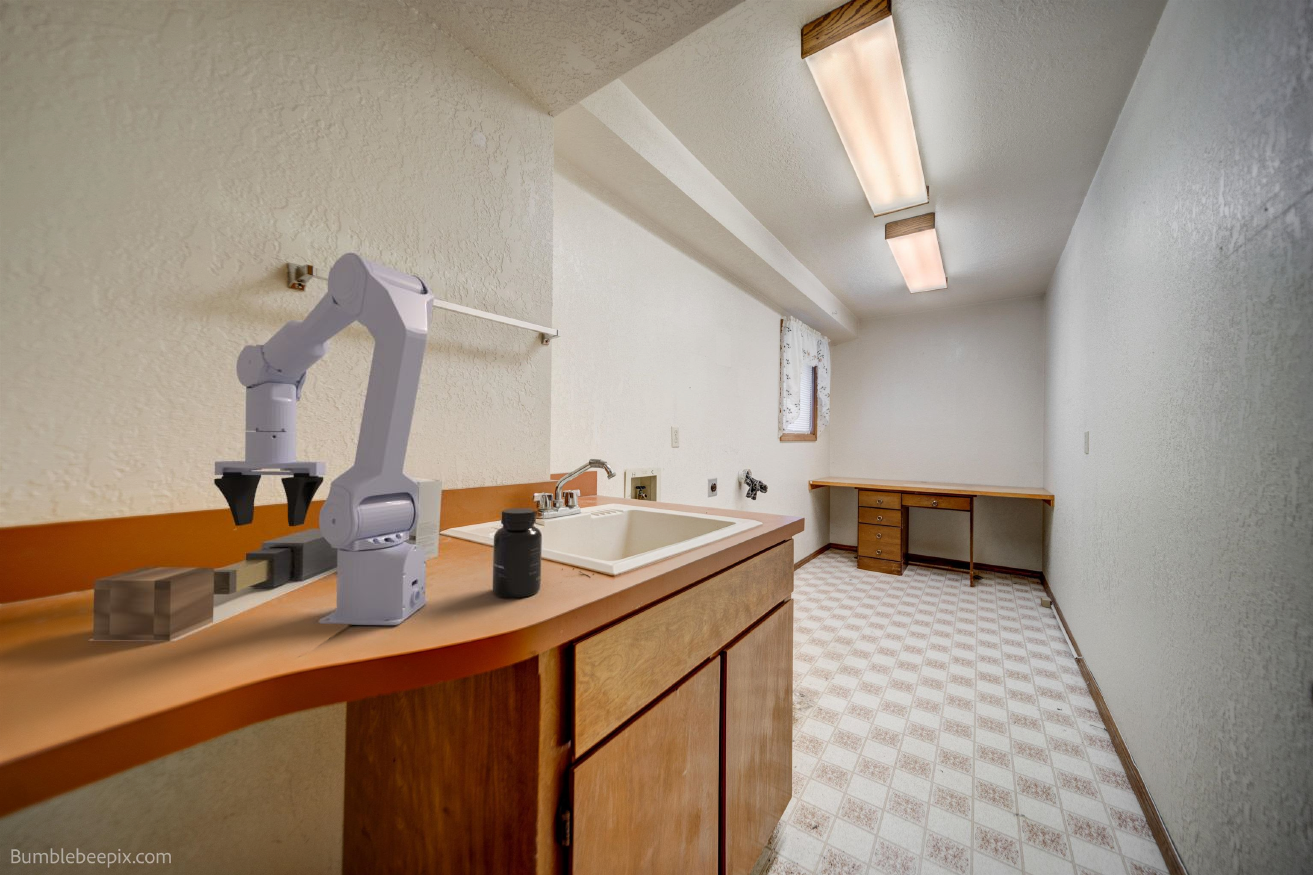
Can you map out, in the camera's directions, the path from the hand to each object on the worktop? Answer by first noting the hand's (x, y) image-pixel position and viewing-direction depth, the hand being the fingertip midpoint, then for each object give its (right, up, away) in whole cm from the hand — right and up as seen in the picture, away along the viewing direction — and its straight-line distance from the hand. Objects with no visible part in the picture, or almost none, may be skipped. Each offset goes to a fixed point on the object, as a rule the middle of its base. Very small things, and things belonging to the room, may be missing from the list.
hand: (270, 524), depth 68 cm
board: (0, -9, -3) cm, 10 cm away
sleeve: (0, -9, +8) cm, 12 cm away
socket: (0, -9, -16) cm, 18 cm away
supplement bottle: (+36, -10, 0) cm, 37 cm away
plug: (0, -9, +1) cm, 9 cm away
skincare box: (+12, -10, +17) cm, 23 cm away
